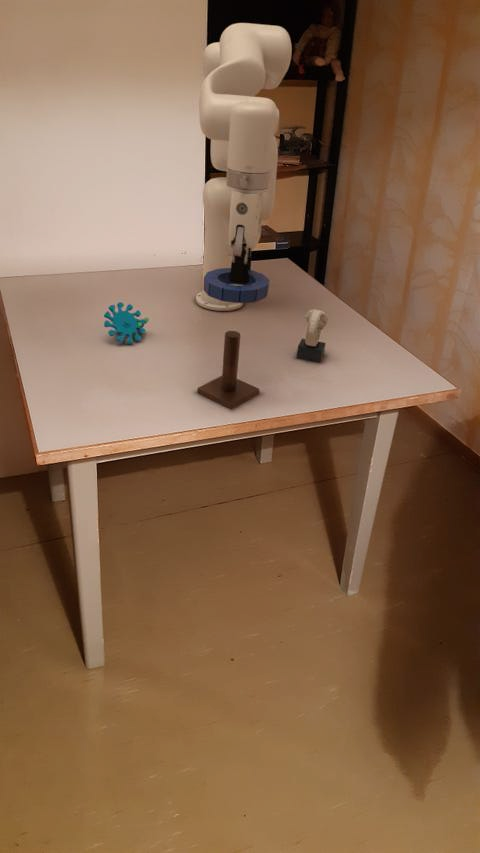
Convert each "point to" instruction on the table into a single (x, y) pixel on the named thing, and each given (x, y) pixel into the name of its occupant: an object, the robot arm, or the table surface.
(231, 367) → the stand
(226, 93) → the robot arm
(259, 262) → the table surface
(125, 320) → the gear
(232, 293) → the ring
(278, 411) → the table surface
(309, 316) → the ram head statue
